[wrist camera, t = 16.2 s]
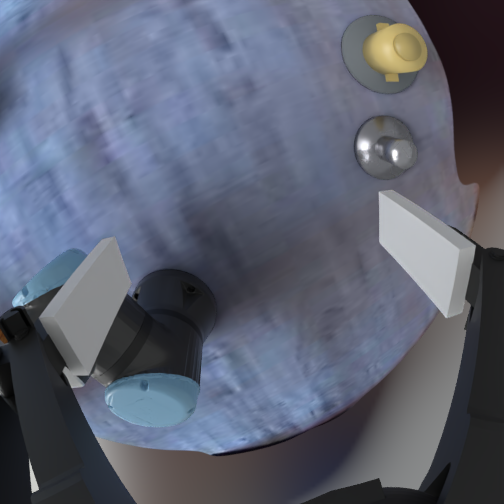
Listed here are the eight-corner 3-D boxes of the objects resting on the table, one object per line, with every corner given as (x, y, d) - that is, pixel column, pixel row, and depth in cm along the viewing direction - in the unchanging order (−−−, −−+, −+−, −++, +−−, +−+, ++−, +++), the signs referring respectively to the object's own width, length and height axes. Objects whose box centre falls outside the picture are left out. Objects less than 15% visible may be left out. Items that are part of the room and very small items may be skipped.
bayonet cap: (367, 82, 39) (391, 78, 32) (357, 24, 35) (379, 12, 27) (407, 82, 38) (434, 81, 31) (397, 27, 34) (423, 18, 27)
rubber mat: (420, 94, 40) (423, 94, 39) (348, 94, 40) (349, 94, 39) (408, 20, 34) (411, 19, 33) (334, 14, 34) (335, 13, 34)
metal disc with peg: (410, 175, 46) (434, 186, 39) (356, 181, 46) (375, 193, 39) (407, 115, 41) (432, 118, 35) (350, 117, 42) (370, 119, 35)
